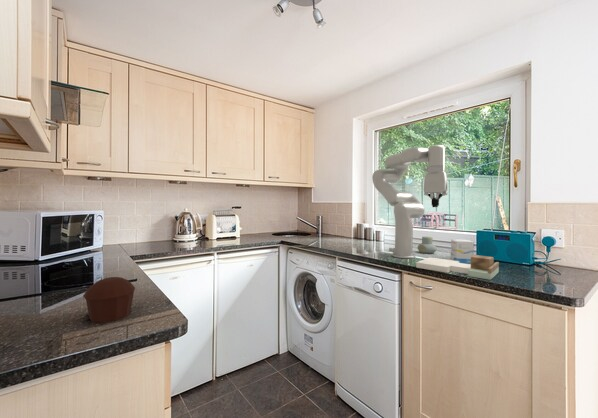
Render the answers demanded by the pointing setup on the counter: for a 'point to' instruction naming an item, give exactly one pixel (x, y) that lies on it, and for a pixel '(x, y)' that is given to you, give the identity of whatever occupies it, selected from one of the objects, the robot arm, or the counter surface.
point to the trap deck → (457, 267)
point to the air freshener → (427, 246)
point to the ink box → (462, 250)
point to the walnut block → (481, 262)
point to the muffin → (109, 299)
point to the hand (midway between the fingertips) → (435, 207)
